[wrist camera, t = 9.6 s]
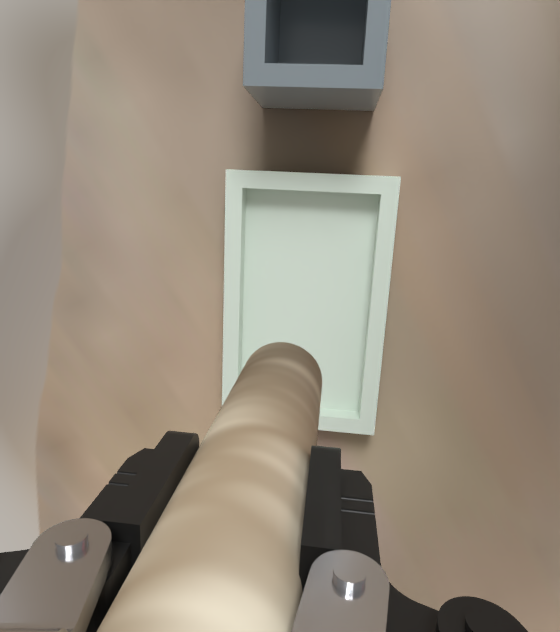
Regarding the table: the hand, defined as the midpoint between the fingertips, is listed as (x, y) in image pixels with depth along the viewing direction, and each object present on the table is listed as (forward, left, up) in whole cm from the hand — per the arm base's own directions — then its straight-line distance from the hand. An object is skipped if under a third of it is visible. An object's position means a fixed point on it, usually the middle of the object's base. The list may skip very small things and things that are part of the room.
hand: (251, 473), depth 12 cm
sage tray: (0, 0, -20) cm, 20 cm away
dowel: (0, 0, -6) cm, 6 cm away
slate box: (0, -15, -20) cm, 25 cm away
